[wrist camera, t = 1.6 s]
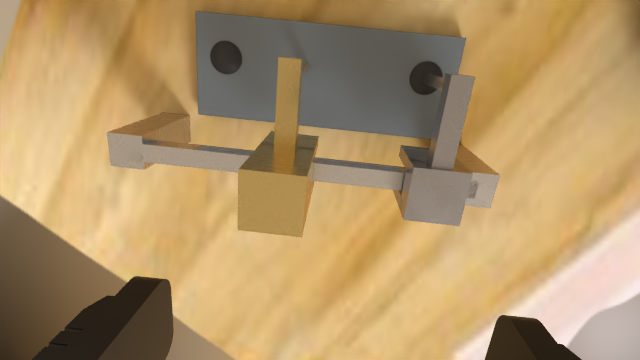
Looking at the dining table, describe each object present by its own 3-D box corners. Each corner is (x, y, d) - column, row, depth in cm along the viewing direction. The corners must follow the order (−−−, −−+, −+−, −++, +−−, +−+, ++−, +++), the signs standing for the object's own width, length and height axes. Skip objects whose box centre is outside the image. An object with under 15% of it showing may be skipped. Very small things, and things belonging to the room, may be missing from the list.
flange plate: (200, 12, 35) (195, 10, 34) (462, 38, 34) (466, 37, 33) (202, 112, 39) (198, 114, 37) (440, 137, 38) (443, 140, 37)
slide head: (283, 53, 34) (239, 56, 20) (328, 57, 34) (316, 64, 20) (277, 161, 38) (237, 229, 24) (317, 166, 38) (301, 237, 24)
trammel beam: (158, 39, 36) (69, 35, 24) (480, 72, 35) (547, 84, 24) (164, 144, 40) (91, 184, 28) (454, 176, 39) (501, 230, 28)
